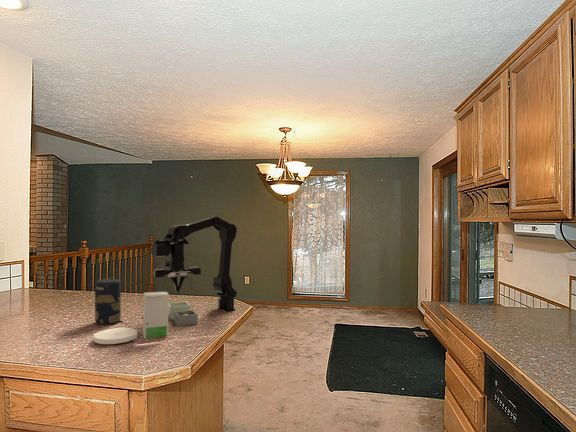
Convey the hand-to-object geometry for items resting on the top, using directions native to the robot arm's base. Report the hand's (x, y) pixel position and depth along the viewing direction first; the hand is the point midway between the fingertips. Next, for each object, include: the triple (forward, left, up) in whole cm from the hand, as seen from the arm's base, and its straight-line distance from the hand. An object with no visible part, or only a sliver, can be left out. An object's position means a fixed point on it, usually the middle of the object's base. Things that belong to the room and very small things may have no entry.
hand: (177, 292), depth 168 cm
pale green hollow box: (0, 0, -11) cm, 11 cm away
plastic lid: (+25, +21, -12) cm, 34 cm away
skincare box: (+12, +23, -11) cm, 28 cm away
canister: (+27, -5, -11) cm, 29 cm away
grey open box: (-1, +11, -11) cm, 16 cm away
